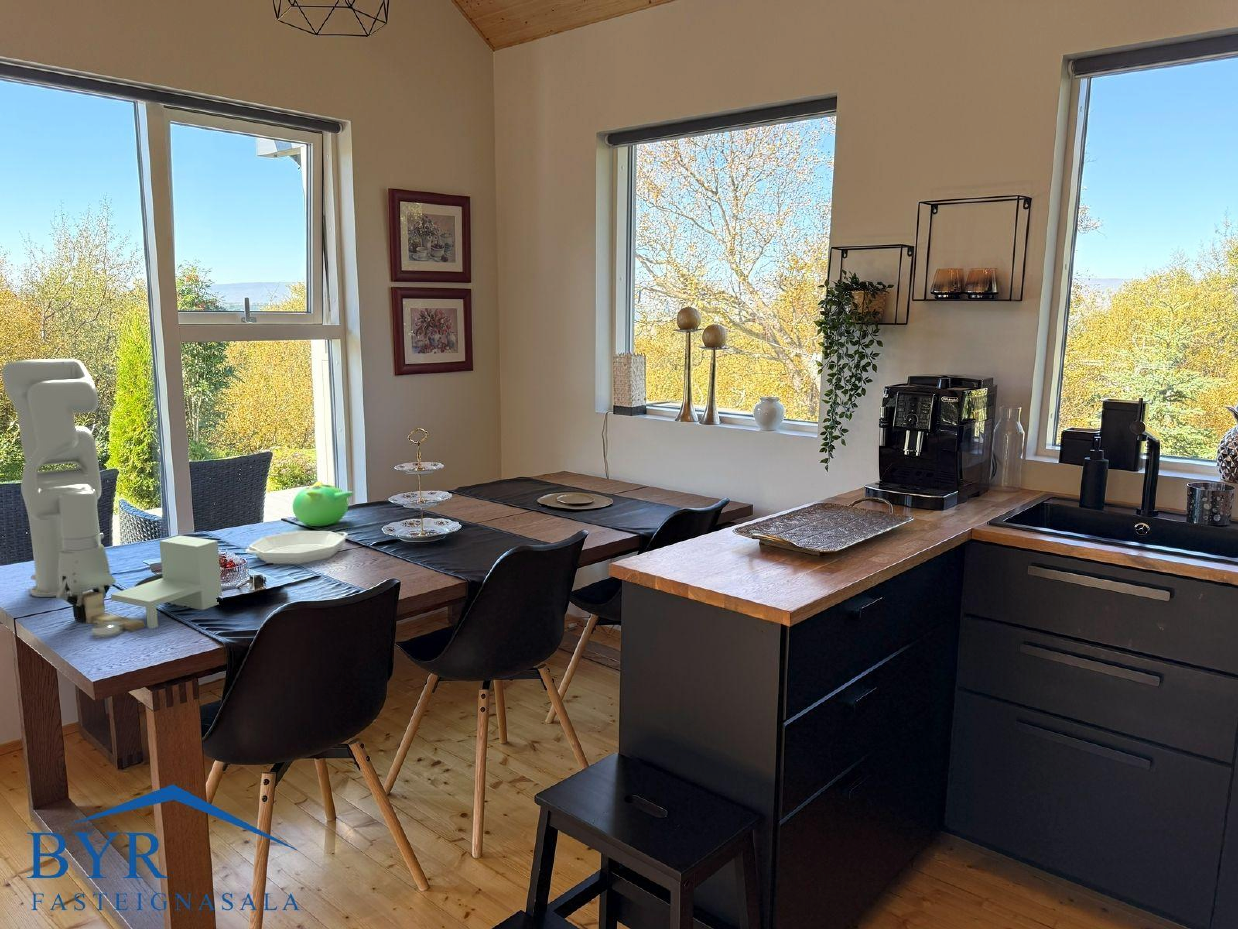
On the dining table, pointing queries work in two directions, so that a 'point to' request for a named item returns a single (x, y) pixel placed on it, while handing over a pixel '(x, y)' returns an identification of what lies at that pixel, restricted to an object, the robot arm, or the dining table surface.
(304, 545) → the pan
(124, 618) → the wooden mallet tool
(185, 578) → the pale green shelf block
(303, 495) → the green teapot
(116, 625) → the steel token
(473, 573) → the dining table surface
